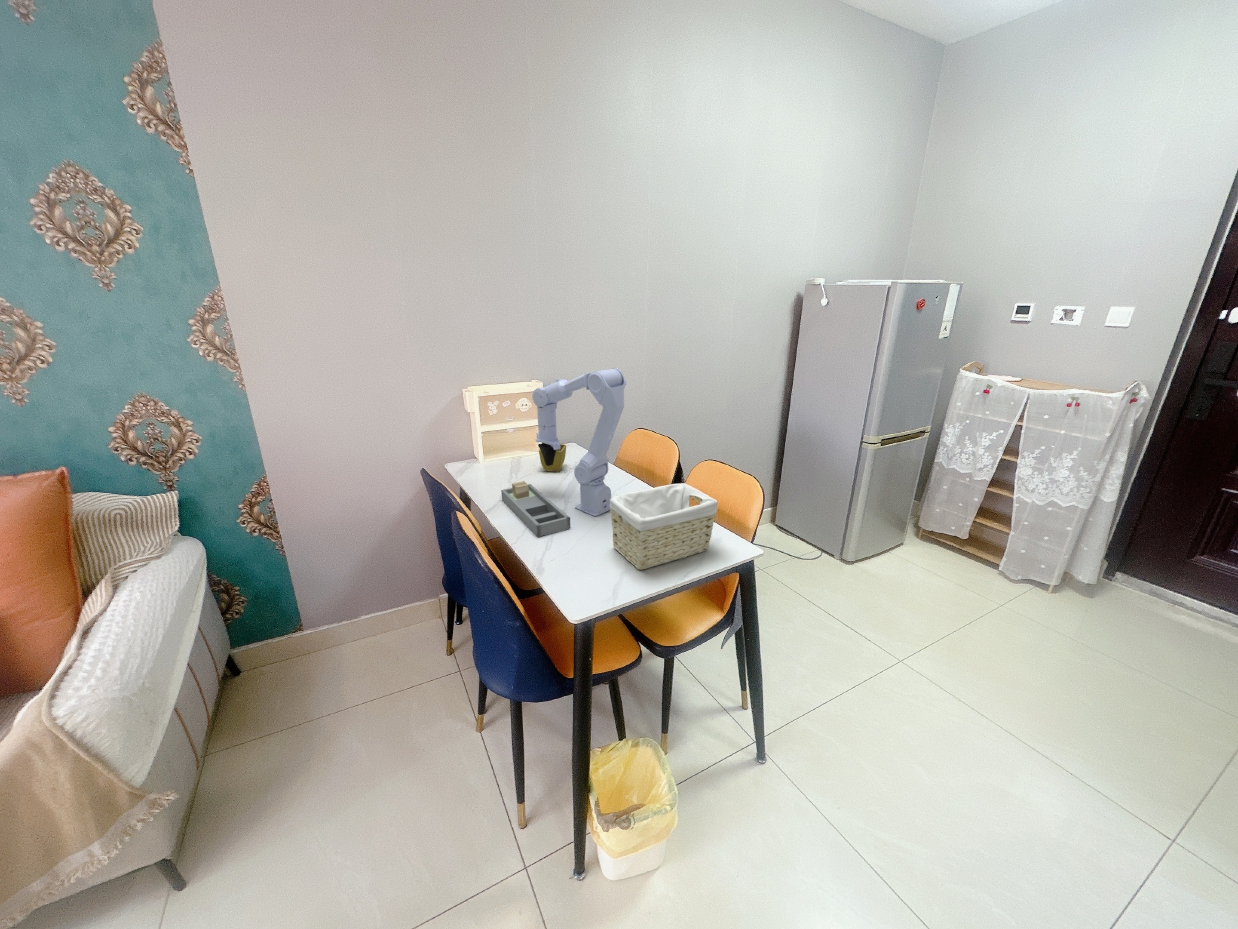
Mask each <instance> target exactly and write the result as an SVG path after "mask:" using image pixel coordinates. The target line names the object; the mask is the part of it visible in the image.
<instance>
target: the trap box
mask: <svg viewBox="0 0 1238 929" xmlns="http://www.w3.org/2000/svg"><path fill="white" fill-rule="evenodd" d="M527 484H528V486H529V497H525V498H520V499H517V498H516V497H515V496H513V491H512V487H509V488H505V489H501V490H500V491H501V501H502V502H504V504H505V505H506V506H507V507H508V508H509V509H510V510H511V511H512V512H513V513H514V514H515V515H516V516H517V517H518V518H519V519H520V520H521V521H522V522H523V524H524V525H525V526H526V527H527V528H528V529H529V530H530V531H531V532H532V533H533V534H534V535H535V537H537V538H540V537H544V536H543V535H545V536H548V535H547V534H549V535H552V534H551V533H553V534H556V533H559V532H558V531H560V532H563V530H564V531H566V529H567V530H570V529H569V528H571V516H569V515H568V514H566V513H565V512H564V511H563V510H562V509H561V508H559V507H558V506H557V505H556V504H555V503H554V502H552V501H551V500H550V499H549V498H547V497H546V495H544V494H543V493H542V492H540V490H538V489H537V488H536V487H535V486H533V485H532V484H531V483H527ZM555 532H556V533H555Z"/></svg>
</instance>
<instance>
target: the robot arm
mask: <svg viewBox="0 0 1238 929" xmlns="http://www.w3.org/2000/svg"><path fill="white" fill-rule="evenodd" d="M626 385H627V380H626V379H625V376H624V374H623V372H622V371H621V370H620V369H619V368H616V367H612V368H608V369H602V370H597V371H596V370H595V371H591V372H586V373H584V374H582V375H579V376H577V377H575V378H573V379H570V380H567V379H565V378H564V379H562V378H561V377H560V378H557V379H555V381H554V382H553V383H547V384H545V387H544V386H543V387H537V388H535V389H534V390H533V392H532V401H533V404H535V405H536V410H537V413H536V414H537V428H538V432H537V433H536V438H535V442H536V443H537V447H538V448H539V449H540V450H541V452H542V454H543V458H544V461H545V464H546V465H547V466H550V465H553V462H554V457H555V454H556V451H557V449H560V444H561V443H560V442H559V439H558V438H559V437H558V434H557V430H558V429H557V411H556V410H557V409H558V403H559V402H561V401H564V400H566V399H569V398H571V397H572V395H573V393H574V392H575V391H578V390H581V389H584V388H585V389H586V390H589V391H590V393H591V395H592V396H593V397H594V399H595V400H596V401H597V402H598V404H599V405H600V406H601V407H602V409H601V413H600V416H599V419H598V422H597V424H596V427H595V429H594V430H595V431H594V433H593V437H592V439H591V442H590V444H589V448H588V449H587V452H586V454H584V455H583V456H582V457H581V458H580V460H579V463H578V464H577V465H576V466H575V467H574V471H573V474H574V477H575V479H576V481H577V483H578V484H579V493H580V494H579V495H580V503H579V504H576V505H575V506H574V509H577V510H579V511H581V512H584V513H586V514H588V515H591V516H593V517H597V516H599V515H602V514H604V513H606V512H608V511H610V499H611V498H612V490H611V488H610V487H609V486H608V485H607V484H606V483H605V481H604V480H605V479H606V478H605V476H607V474H608V472H609V462H610V458H609V457H608V456H607V454H608V451H609V448H610V445H611V443H612V440H613V438H614V435H615V432H616V429H617V427H618V424H619V421H620V419H621V416H622V413H623V412H624V408H625V407H624V406H625V387H626Z"/></svg>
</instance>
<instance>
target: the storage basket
mask: <svg viewBox="0 0 1238 929" xmlns="http://www.w3.org/2000/svg"><path fill="white" fill-rule="evenodd" d="M691 500H693V501H696V502H697V503H699V504H695V505H693V506H690V503H691V502H690V501H691ZM718 504H719V503H718V500H717V499H715V498H713V497H711V496H710V495H708V494H706V493H704V492H703V491H700V490H699V489H697V488H695V487H694V486H691V485H689V484H687V483H685V482H683V483H682V482H680V483H672V484H667V485H661V486H660V485H659V486H656V487H652V488H646V489H641V490H636V491H630V492H626V493H622V494H619V495H615V496H613V497H612V496H611V499H610V510H609V511H610V518H611V527H612V530H611V531H612V541H613V548H614V549H615V550H616V551H617V552H618V553H620V554H621V555H622V557H624V558H625V559H626V561H628V562H630V563H631V565H632V566H634V567H635V568H636V569H638V571H639V570H640V571H641V570H647V569H650V568H653V567H656V566H659V565H663V564H667V563H669V562H672V561H676V560H680V559H684V558H688V557H689V556H693V555H696V554H701V553H702V552H706V551H708V550H709V549H710V541H711V538H712V535H713V534H712V533H713V531H712V530H713V528H714V522H715V517H716V514H717V512H718ZM687 556H688V557H687Z"/></svg>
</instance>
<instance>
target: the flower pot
mask: <svg viewBox="0 0 1238 929" xmlns="http://www.w3.org/2000/svg"><path fill="white" fill-rule="evenodd" d="M566 452H567V444H564V443H563V444H562V443H560V449H557V451H556V454H555V457H554V462H553V465H550V466H547V465H546V464H545V461H544V458H543V454H542V452H541V450H540V448H539V450H538V455H539V459H540V464H541V466H542V468H543V469H544V471H545V472H557V473H558V472H559V471H560V470H561V469H562V467H563V465H564V463H565V459H566V454H567V453H566Z"/></svg>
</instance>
